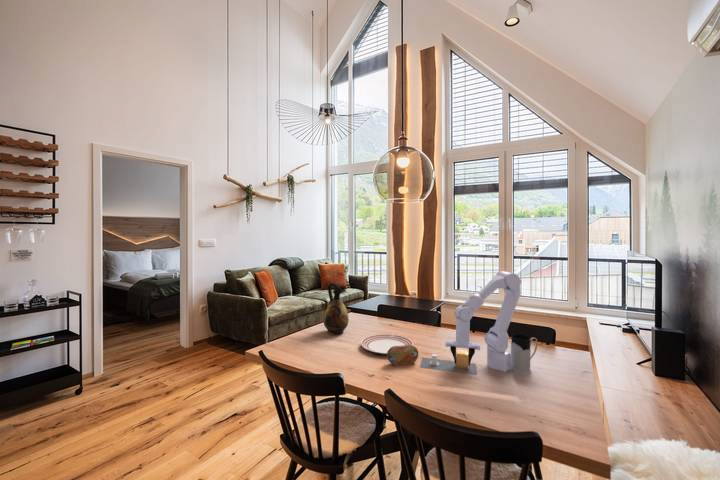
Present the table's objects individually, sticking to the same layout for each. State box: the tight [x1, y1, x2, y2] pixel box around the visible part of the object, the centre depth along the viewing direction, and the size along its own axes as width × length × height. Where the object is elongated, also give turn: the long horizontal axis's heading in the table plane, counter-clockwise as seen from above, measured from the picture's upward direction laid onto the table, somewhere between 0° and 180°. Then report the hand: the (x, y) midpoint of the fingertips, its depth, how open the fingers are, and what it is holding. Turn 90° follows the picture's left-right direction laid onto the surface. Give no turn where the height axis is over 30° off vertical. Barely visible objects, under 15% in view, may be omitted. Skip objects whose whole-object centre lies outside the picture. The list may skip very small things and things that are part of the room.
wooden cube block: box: [456, 349, 469, 370], centre depth 142 cm, size 5×5×7 cm
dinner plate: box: [360, 333, 414, 355], centre depth 170 cm, size 28×27×3 cm
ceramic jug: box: [322, 282, 350, 336], centre depth 195 cm, size 17×15×30 cm
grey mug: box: [510, 333, 538, 375], centre depth 144 cm, size 9×14×15 cm, turn 111°
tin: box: [386, 345, 419, 366], centre depth 150 cm, size 15×3×8 cm, turn 105°
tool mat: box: [419, 353, 478, 376], centre depth 144 cm, size 24×12×6 cm, turn 74°
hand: (462, 364), depth 142 cm, fingers closed on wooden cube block, 5 cm apart
